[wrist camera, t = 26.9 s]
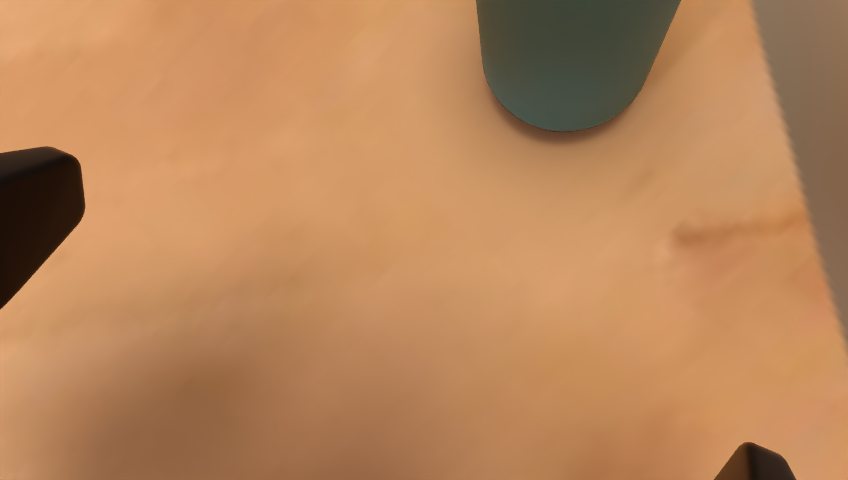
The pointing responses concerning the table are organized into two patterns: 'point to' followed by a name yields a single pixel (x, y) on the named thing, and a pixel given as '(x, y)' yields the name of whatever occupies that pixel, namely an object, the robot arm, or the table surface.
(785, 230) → the table surface
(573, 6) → the dauber
